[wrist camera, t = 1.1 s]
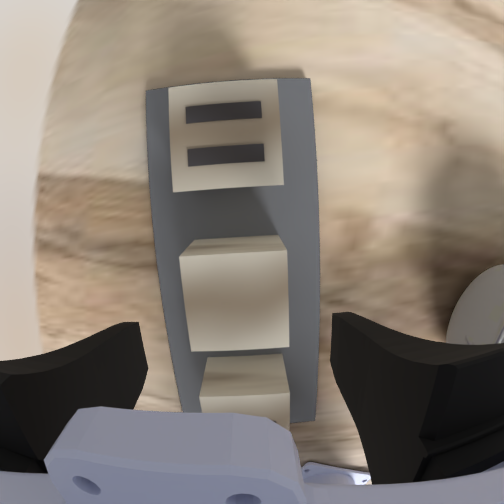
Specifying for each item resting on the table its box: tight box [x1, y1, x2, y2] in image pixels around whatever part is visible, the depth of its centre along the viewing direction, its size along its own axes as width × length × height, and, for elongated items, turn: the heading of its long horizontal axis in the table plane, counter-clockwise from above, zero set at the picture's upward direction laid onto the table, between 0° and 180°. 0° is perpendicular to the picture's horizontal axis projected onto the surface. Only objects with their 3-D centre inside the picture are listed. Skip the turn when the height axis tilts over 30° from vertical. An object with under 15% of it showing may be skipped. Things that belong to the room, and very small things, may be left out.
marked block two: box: [168, 79, 284, 192], centre depth 16 cm, size 5×5×5 cm
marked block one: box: [199, 354, 290, 431], centre depth 19 cm, size 5×5×5 cm
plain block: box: [179, 235, 289, 352], centre depth 18 cm, size 5×5×4 cm
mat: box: [146, 78, 320, 423], centre depth 20 cm, size 24×10×1 cm, turn 3°
